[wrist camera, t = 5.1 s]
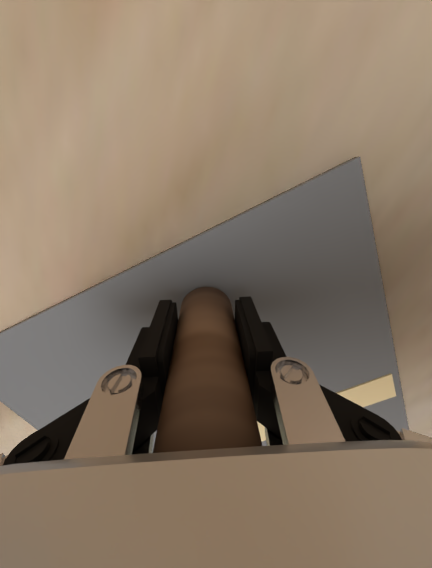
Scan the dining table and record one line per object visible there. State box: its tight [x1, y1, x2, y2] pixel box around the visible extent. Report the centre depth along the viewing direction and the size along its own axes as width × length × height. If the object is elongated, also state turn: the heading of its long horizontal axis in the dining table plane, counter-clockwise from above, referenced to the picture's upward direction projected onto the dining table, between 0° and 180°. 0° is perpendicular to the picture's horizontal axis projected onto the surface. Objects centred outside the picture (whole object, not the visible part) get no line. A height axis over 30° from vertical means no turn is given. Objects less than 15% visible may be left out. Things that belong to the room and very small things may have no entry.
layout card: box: [0, 157, 409, 453], centre depth 18 cm, size 25×31×1 cm
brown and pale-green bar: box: [153, 287, 262, 453], centre depth 11 cm, size 13×3×8 cm, turn 3°
